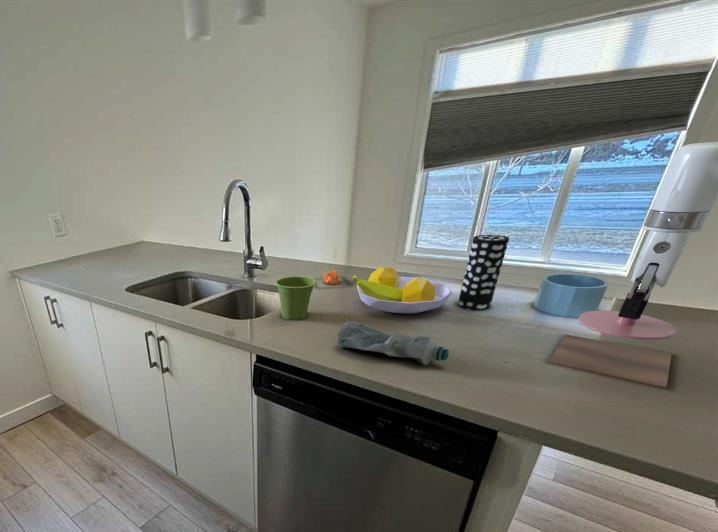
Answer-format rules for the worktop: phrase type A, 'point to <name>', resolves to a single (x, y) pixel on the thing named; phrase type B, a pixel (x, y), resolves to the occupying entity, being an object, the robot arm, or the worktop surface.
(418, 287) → the fruit bowl
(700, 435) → the worktop surface
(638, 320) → the pink lid with handle
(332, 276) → the raw meat
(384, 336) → the crushed plastic bottle
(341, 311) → the worktop surface
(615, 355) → the wooden cutting board
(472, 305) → the spotted tube
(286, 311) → the plant pot
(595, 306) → the bowl
